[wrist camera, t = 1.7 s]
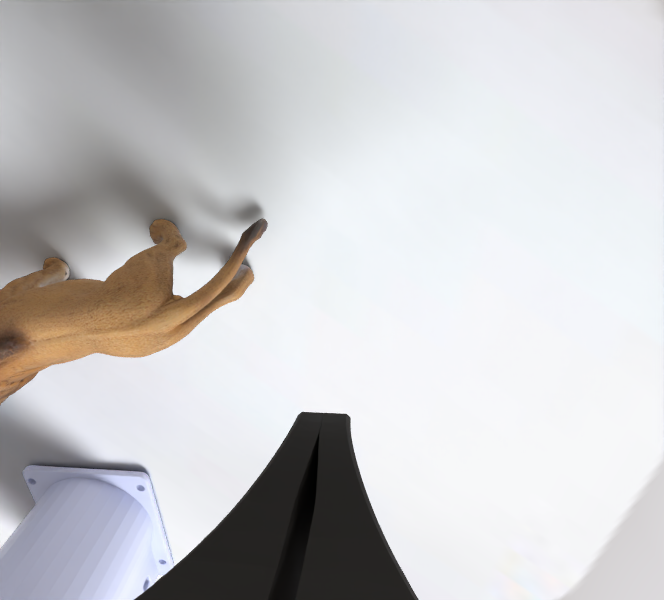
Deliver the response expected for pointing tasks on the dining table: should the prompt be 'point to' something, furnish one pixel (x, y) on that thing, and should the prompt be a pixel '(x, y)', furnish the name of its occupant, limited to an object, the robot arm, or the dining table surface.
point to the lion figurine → (109, 308)
